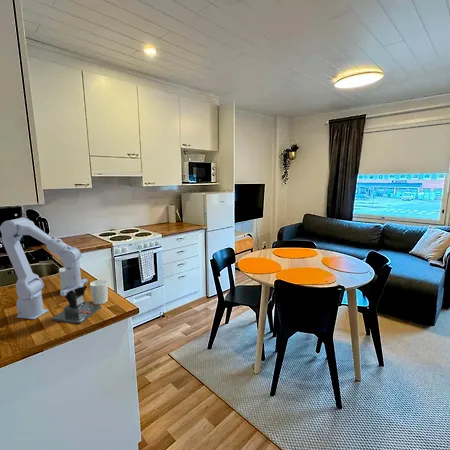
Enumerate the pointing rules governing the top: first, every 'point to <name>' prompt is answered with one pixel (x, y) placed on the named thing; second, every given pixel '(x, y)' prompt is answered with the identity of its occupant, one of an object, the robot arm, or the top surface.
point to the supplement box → (63, 278)
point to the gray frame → (76, 313)
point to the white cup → (99, 291)
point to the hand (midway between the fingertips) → (76, 303)
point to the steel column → (78, 301)
